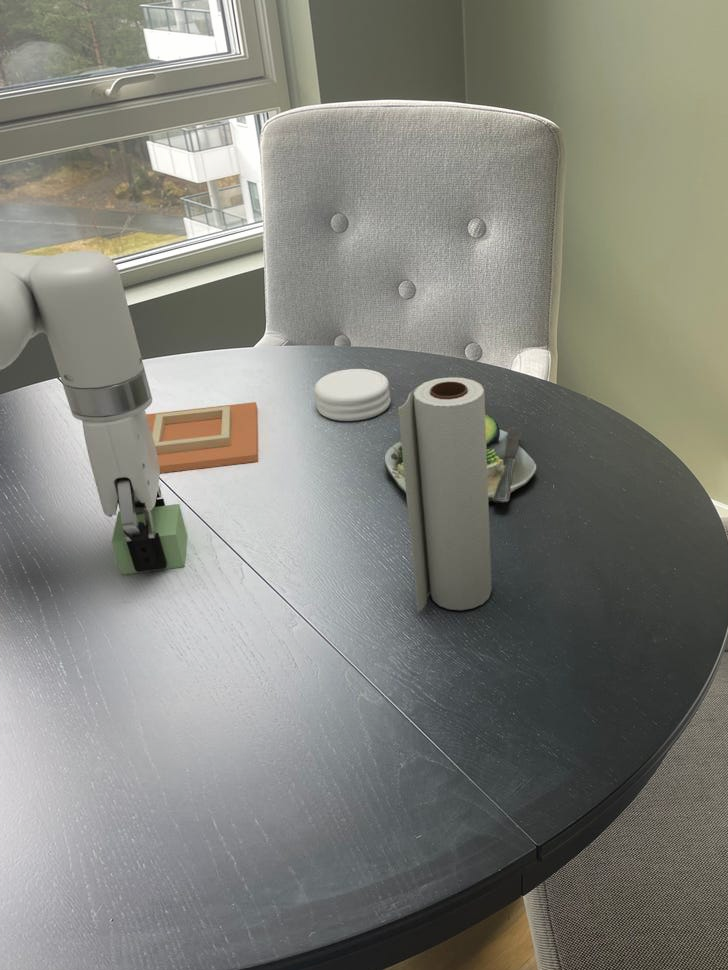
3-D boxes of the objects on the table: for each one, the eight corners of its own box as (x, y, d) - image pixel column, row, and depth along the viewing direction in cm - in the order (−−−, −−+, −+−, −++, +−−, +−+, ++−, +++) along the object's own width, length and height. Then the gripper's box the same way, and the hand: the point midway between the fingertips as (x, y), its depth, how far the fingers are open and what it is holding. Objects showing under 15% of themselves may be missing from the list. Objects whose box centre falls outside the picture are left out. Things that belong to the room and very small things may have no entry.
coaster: (311, 398, 134) (307, 374, 132) (381, 386, 136) (378, 362, 134) (324, 427, 126) (321, 402, 124) (398, 415, 129) (396, 390, 127)
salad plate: (571, 500, 109) (572, 464, 106) (419, 533, 105) (416, 496, 102) (509, 431, 124) (509, 396, 121) (374, 457, 119) (370, 422, 116)
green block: (121, 575, 101) (111, 542, 98) (127, 543, 106) (118, 511, 103) (184, 566, 101) (175, 534, 99) (187, 535, 106) (179, 503, 104)
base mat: (125, 477, 118) (120, 461, 116) (137, 422, 130) (132, 406, 129) (258, 461, 120) (254, 445, 118) (257, 408, 132) (254, 393, 131)
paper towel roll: (490, 575, 98) (483, 373, 85) (492, 611, 93) (485, 401, 80) (419, 578, 98) (401, 376, 85) (417, 614, 93) (397, 405, 80)
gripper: (80, 361, 98) (126, 514, 109) (53, 435, 85) (109, 601, 96) (155, 353, 99) (193, 506, 110) (140, 425, 86) (186, 591, 97)
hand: (154, 549), depth 103 cm, fingers closed on green block, 6 cm apart
